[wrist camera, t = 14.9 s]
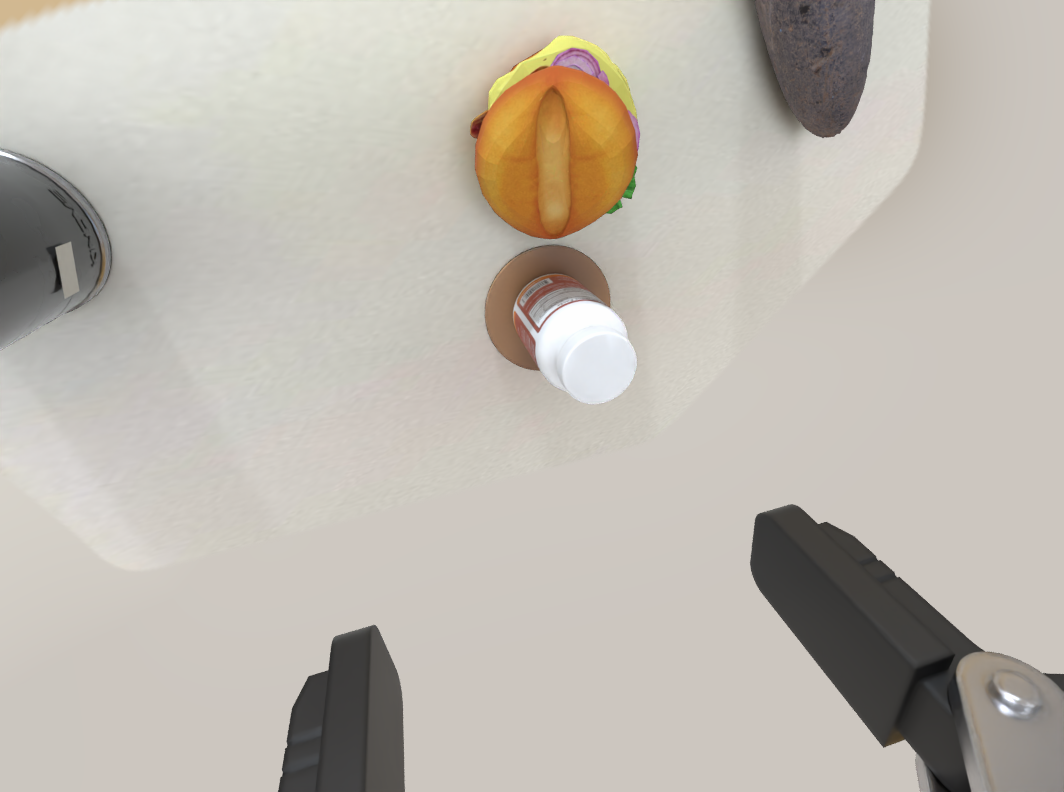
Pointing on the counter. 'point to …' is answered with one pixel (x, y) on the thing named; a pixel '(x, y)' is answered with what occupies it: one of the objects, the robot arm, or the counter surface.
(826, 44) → the perforated stone tool
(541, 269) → the coaster
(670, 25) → the counter surface
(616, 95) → the cheeseburger
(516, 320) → the pill bottle
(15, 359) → the counter surface
